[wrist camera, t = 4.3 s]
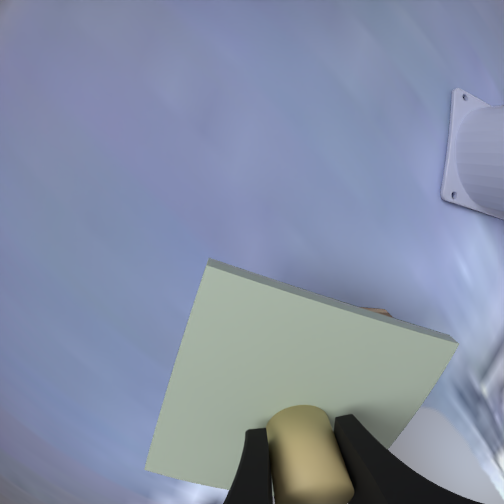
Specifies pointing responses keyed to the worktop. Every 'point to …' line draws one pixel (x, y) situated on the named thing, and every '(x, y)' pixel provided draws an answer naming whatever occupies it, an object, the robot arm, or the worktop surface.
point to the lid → (287, 383)
